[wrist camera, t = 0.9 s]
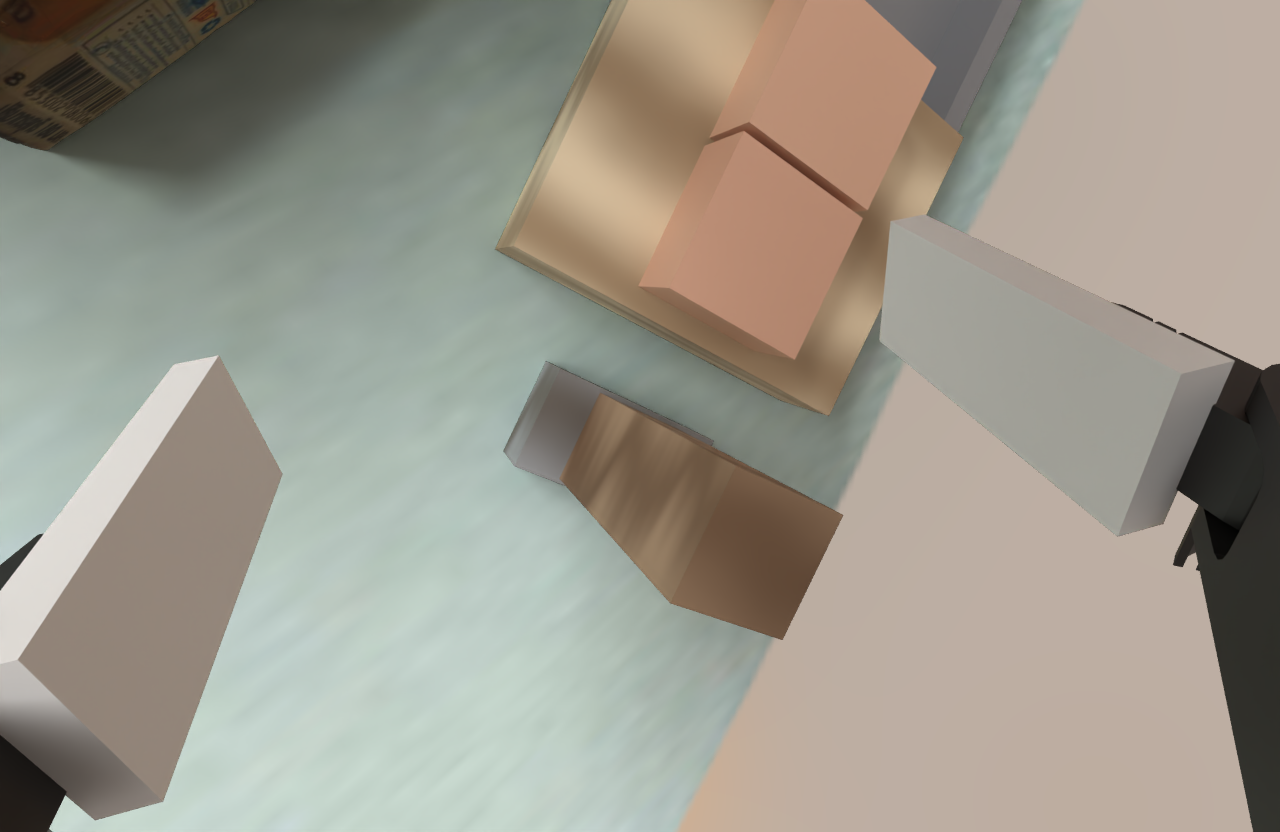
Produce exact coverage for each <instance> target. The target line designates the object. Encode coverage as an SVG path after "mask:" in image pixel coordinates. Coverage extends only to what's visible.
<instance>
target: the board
mask: <svg viewBox="0 0 1280 832" xmlns="http://www.w3.org/2000/svg"><path fill="white" fill-rule="evenodd" d="M773 2H774V0H611V2H610V4H609V7H608V9H607V11H606V13H605V15H604V17H603V19H602V22H601V24H600V26H599V28H598V30H597V32H596V34H595V37H594V39H593V41H592V43H591V45H590V47H589V49H588V52H587V54H586V56H585V58H584V60H583V62H582V64H581V67H580V69H579V71H578V73H577V75H576V77H575V79H574V81H573V84H572V86H571V88H570V90H569V92H568V94H567V96H566V99H565V101H564V103H563V105H562V107H561V109H560V111H559V114H558V116H557V118H556V120H555V122H554V124H553V126H552V129H551V131H550V133H549V135H548V137H547V139H546V141H545V144H544V146H543V148H542V150H541V152H540V154H539V156H538V159H537V161H536V163H535V165H534V167H533V169H532V171H531V174H530V176H529V178H528V180H527V182H526V184H525V186H524V189H523V191H522V193H521V195H520V197H519V199H518V201H517V204H516V206H515V208H514V210H513V212H512V214H511V216H510V219H509V221H508V223H507V225H506V227H505V229H504V231H503V234H502V236H501V238H500V240H499V242H498V244H497V246H496V250H498V251H500V252H501V253H503V254H505V255H507V256H509V257H511V258H513V259H515V260H517V261H518V262H520V263H522V264H524V265H526V266H528V267H530V268H532V269H533V270H535V271H537V272H539V273H541V274H543V275H545V276H547V277H549V278H550V279H552V280H554V281H556V282H558V283H560V284H562V285H564V286H566V287H567V288H569V289H571V290H573V291H575V292H577V293H579V294H581V295H583V296H584V297H586V298H588V299H590V300H592V301H594V302H596V303H598V304H599V305H601V306H603V307H605V308H607V309H609V310H611V311H613V312H615V313H616V314H618V315H620V316H622V317H624V318H626V319H628V320H630V321H632V322H633V323H635V324H637V325H639V326H641V327H643V328H645V329H647V330H648V331H650V332H652V333H654V334H656V335H658V336H660V337H662V338H664V339H665V340H667V341H669V342H671V343H673V344H675V345H677V346H679V347H681V348H682V349H684V350H686V351H688V352H690V353H692V354H694V355H696V356H698V357H699V358H701V359H703V360H705V361H707V362H709V363H711V364H713V365H714V366H716V367H718V368H720V369H722V370H724V371H726V372H728V373H730V374H731V375H733V376H735V377H737V378H739V379H741V380H743V381H745V382H747V383H748V384H750V385H752V386H754V387H756V388H758V389H760V390H762V391H763V392H765V393H767V394H769V395H771V396H773V397H775V398H777V399H779V400H780V401H784V402H787V403H790V404H793V405H796V406H799V407H802V408H806V409H809V410H812V411H815V412H818V413H821V414H824V415H828V416H829V415H830V413H831V411H832V408H833V406H834V404H835V402H836V400H837V398H838V396H839V394H840V392H841V390H842V388H843V386H844V384H845V382H846V380H847V378H848V375H849V373H850V371H851V369H852V367H853V365H854V363H855V361H856V359H857V357H858V355H859V353H860V351H861V349H862V347H863V344H864V342H865V340H866V338H867V336H868V334H869V332H870V330H871V328H872V326H873V324H874V322H875V320H876V318H877V316H878V313H879V311H880V309H881V307H882V305H883V295H884V285H885V274H886V264H887V253H888V243H889V232H890V222H891V221H894V220H899V219H904V218H909V217H914V216H919V215H924V214H925V215H926V214H927V212H928V210H929V208H930V206H931V204H932V202H933V200H934V198H935V196H936V194H937V192H938V190H939V188H940V185H941V183H942V181H943V179H944V177H945V175H946V173H947V171H948V169H949V167H950V165H951V163H952V161H953V159H954V157H955V155H956V152H957V150H958V148H959V146H960V144H961V142H962V140H963V138H964V137H962V136H961V135H960V134H959V133H958V132H957V131H956V130H955V129H953V128H952V127H951V126H950V125H949V124H948V123H947V122H946V121H944V120H943V119H942V118H941V117H940V116H939V115H938V114H937V113H935V112H934V111H933V110H932V109H931V108H930V107H929V106H928V105H926V104H925V103H924V102H923V101H922V100H920V103H919V105H918V107H917V109H916V111H915V113H914V115H913V117H912V119H911V121H910V123H909V125H908V127H907V130H906V132H905V134H904V136H903V138H902V140H901V142H900V144H899V146H898V148H897V150H896V152H895V154H894V157H893V159H892V161H891V163H890V165H889V167H888V169H887V171H886V173H885V175H884V177H883V179H882V181H881V184H880V186H879V188H878V190H877V192H876V194H875V196H874V198H873V200H872V202H871V204H870V206H869V208H868V210H866V211H858V212H855V213H856V214H858V215H859V216H860V217H862V218H863V219H862V221H861V223H860V225H859V227H858V230H857V232H856V234H855V236H854V238H853V240H852V242H851V244H850V246H849V248H848V250H847V252H846V254H845V257H844V259H843V261H842V263H841V265H840V267H839V269H838V271H837V273H836V275H835V277H834V279H833V281H832V283H831V286H830V288H829V290H828V292H827V294H826V296H825V298H824V300H823V302H822V304H821V306H820V308H819V310H818V313H817V315H816V317H815V319H814V321H813V323H812V325H811V327H810V329H809V331H808V333H807V335H806V337H805V340H804V342H803V344H802V346H801V348H800V350H799V352H798V354H797V356H796V358H795V360H794V359H789V358H784V357H779V356H775V355H770V354H765V353H761V352H756V351H753V350H751V349H750V348H748V347H746V346H744V345H742V344H741V343H739V342H737V341H735V340H733V339H732V338H730V337H728V336H726V335H725V334H723V333H721V332H719V331H717V330H716V329H714V328H712V327H710V326H708V325H707V324H705V323H703V322H701V321H699V320H698V319H696V318H694V317H692V316H691V315H689V314H687V313H685V312H683V311H682V310H680V309H678V308H676V307H674V306H673V305H671V304H669V303H667V302H666V301H664V300H662V299H660V298H658V297H657V296H655V295H653V294H651V293H649V292H648V291H646V290H644V289H642V288H641V287H639V286H638V285H639V283H640V281H641V279H642V277H643V275H644V273H645V271H646V269H647V266H648V264H649V262H650V260H651V258H652V256H653V254H654V252H655V250H656V247H657V245H658V243H659V241H660V239H661V237H662V235H663V233H664V231H665V228H666V226H667V224H668V222H669V220H670V218H671V216H672V214H673V212H674V209H675V207H676V205H677V203H678V201H679V199H680V197H681V195H682V193H683V190H684V188H685V186H686V184H687V182H688V180H689V178H690V176H691V174H692V171H693V169H694V167H695V165H696V163H697V161H698V159H699V157H700V155H701V152H702V150H703V148H704V146H705V145H708V144H711V143H713V142H715V141H713V140H712V139H711V138H710V135H711V133H712V131H713V129H714V127H715V125H716V123H717V121H718V119H719V116H720V114H721V112H722V110H723V108H724V106H725V104H726V102H727V100H728V97H729V95H730V93H731V91H732V89H733V87H734V85H735V83H736V81H737V78H738V76H739V74H740V72H741V70H742V68H743V66H744V64H745V62H746V59H747V57H748V55H749V53H750V51H751V49H752V47H753V45H754V43H755V40H756V38H757V36H758V34H759V32H760V30H761V28H762V26H763V24H764V21H765V19H766V17H767V15H768V13H769V11H770V9H771V7H772V5H773Z"/></svg>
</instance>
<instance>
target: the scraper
mask: <svg viewBox="0 0 1280 832" xmlns="http://www.w3.org/2000/svg"><path fill="white" fill-rule="evenodd" d="M713 442H714V441H713V440H711V439H709V438H707V437H705V436H703V435H701V434H699V433H697V432H695V431H693V430H691V429H689V428H687V427H685V426H683V425H681V424H679V423H676V422H674V421H672V420H670V419H668V418H666V417H664V416H662V415H659V414H657V413H655V412H653V411H651V410H649V409H647V408H645V407H642V406H640V405H638V404H636V403H634V402H632V401H630V400H628V399H625V398H623V397H621V396H619V395H617V394H615V393H613V392H611V391H608V390H606V389H604V388H602V387H600V386H598V385H596V384H594V383H591V382H589V381H587V380H585V379H583V378H581V377H579V376H577V375H574V374H572V373H570V372H568V371H566V370H564V369H562V368H560V367H557V366H555V365H553V364H551V363H549V362H547V361H546V362H545V364H544V366H543V368H542V370H541V373H540V375H539V377H538V379H537V381H536V383H535V385H534V387H533V389H532V392H531V394H530V396H529V398H528V400H527V402H526V404H525V406H524V409H523V411H522V413H521V415H520V417H519V419H518V421H517V423H516V426H515V428H514V430H513V432H512V434H511V436H510V438H509V440H508V443H507V445H506V447H505V449H504V452H505V454H506V455H507V457H508V458H509V459H510V461H511V462H512V464H513V465H514V466H515V467H518V468H520V469H523V470H525V471H528V472H531V473H533V474H536V475H538V476H541V477H544V478H546V479H549V480H551V481H554V482H556V483H559V484H562V485H564V486H566V487H567V488H568V489H569V490H570V491H571V492H572V493H573V494H574V496H575V497H576V498H577V499H578V500H579V501H580V502H581V503H582V505H583V506H584V507H585V508H586V509H587V510H588V511H589V512H590V514H591V515H592V516H593V517H594V518H595V519H596V520H597V521H598V523H599V524H600V525H601V526H602V527H603V528H604V529H605V530H606V532H607V533H608V534H609V535H610V536H611V537H612V538H613V539H614V541H615V542H616V543H617V544H618V545H619V546H620V547H621V548H622V550H623V551H624V552H625V553H626V554H627V555H628V556H629V557H630V559H631V560H632V561H633V562H634V563H635V564H636V565H637V566H638V568H639V569H640V570H641V571H642V572H643V573H644V574H645V575H646V577H647V578H648V579H649V580H650V581H651V582H652V583H653V584H654V586H655V587H656V588H657V589H658V590H659V591H660V592H661V593H662V595H663V596H664V597H665V598H666V599H667V600H668V601H669V602H670V603H671V604H674V605H677V606H680V607H683V608H686V609H690V610H693V611H696V612H699V613H702V614H705V615H708V616H711V617H714V618H717V619H720V620H723V621H726V622H729V623H732V624H735V625H738V626H741V627H744V628H747V629H750V630H753V631H756V632H760V633H763V634H766V635H769V636H772V637H775V638H778V639H781V640H783V638H784V636H785V634H786V632H787V630H788V627H789V625H790V623H791V621H792V619H793V617H794V615H795V613H796V611H797V609H798V607H799V605H800V603H801V601H802V599H803V597H804V595H805V593H806V591H807V589H808V586H809V584H810V582H811V580H812V578H813V576H814V574H815V572H816V570H817V568H818V566H819V564H820V562H821V560H822V558H823V556H824V554H825V552H826V550H827V547H828V545H829V543H830V541H831V539H832V537H833V535H834V533H835V531H836V529H837V527H838V525H839V523H840V521H841V519H842V517H843V515H842V514H840V513H838V512H836V511H834V510H833V509H831V508H829V507H827V506H825V505H823V504H821V503H819V502H817V501H815V500H813V499H811V498H809V497H808V496H806V495H804V494H802V493H800V492H798V491H796V490H794V489H792V488H790V487H788V486H786V485H785V484H783V483H781V482H779V481H777V480H775V479H773V478H771V477H769V476H767V475H765V474H763V473H761V472H760V471H758V470H756V469H754V468H752V467H750V466H748V465H746V464H744V463H742V462H740V461H738V460H737V459H735V458H733V457H731V456H729V455H727V454H725V453H723V452H721V451H719V450H717V449H715V448H714V447H712V444H713Z"/></svg>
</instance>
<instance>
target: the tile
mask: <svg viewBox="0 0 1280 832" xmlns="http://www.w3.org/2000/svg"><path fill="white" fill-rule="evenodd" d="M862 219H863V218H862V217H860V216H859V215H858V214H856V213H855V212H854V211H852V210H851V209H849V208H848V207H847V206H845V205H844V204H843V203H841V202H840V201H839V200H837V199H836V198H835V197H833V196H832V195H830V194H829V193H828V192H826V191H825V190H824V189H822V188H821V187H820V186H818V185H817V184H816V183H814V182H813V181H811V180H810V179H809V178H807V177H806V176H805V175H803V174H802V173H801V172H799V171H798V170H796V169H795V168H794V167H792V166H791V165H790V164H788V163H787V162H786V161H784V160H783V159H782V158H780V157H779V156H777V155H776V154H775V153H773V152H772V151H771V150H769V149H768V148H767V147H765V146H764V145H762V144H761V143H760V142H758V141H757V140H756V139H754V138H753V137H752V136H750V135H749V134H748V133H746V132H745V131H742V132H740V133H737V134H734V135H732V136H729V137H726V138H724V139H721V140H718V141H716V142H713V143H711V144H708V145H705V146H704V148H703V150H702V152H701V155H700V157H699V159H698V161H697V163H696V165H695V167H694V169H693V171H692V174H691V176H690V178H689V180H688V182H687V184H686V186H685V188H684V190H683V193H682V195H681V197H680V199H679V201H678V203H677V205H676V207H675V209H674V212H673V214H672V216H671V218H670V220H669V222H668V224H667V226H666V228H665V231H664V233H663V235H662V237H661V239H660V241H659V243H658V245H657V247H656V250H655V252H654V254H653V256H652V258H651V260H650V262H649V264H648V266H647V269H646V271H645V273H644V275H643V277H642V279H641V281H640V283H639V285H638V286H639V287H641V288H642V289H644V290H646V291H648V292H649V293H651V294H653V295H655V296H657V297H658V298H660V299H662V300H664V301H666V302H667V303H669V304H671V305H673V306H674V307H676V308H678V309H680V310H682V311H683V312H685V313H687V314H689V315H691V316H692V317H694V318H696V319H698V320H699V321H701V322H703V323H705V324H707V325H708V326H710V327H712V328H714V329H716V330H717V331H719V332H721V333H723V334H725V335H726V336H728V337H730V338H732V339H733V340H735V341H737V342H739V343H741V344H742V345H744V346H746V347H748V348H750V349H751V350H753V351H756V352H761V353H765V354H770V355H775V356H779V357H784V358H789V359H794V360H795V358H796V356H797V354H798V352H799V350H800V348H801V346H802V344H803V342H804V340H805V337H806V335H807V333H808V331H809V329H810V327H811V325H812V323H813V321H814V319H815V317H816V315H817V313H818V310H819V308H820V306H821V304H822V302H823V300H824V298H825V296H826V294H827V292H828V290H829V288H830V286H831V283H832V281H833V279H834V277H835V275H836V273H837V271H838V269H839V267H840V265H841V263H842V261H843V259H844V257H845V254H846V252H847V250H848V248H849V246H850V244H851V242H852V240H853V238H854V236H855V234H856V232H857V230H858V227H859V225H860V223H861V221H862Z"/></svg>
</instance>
